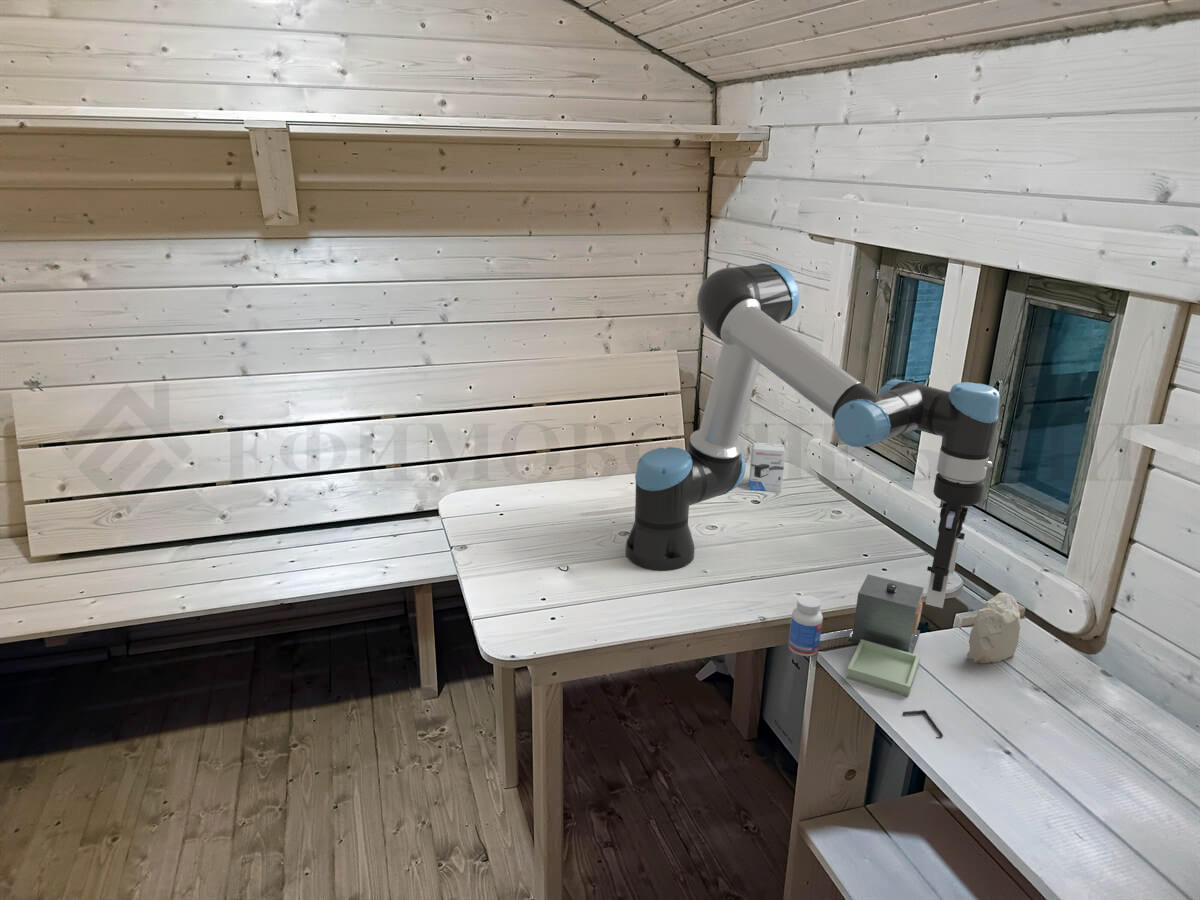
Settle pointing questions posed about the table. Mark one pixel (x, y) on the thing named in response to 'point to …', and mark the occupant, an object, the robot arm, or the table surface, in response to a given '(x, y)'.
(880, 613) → the unit
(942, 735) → the l-shaped bracket
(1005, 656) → the stone
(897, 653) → the tray
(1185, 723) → the table surface
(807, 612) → the pill bottle
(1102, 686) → the table surface
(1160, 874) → the table surface
